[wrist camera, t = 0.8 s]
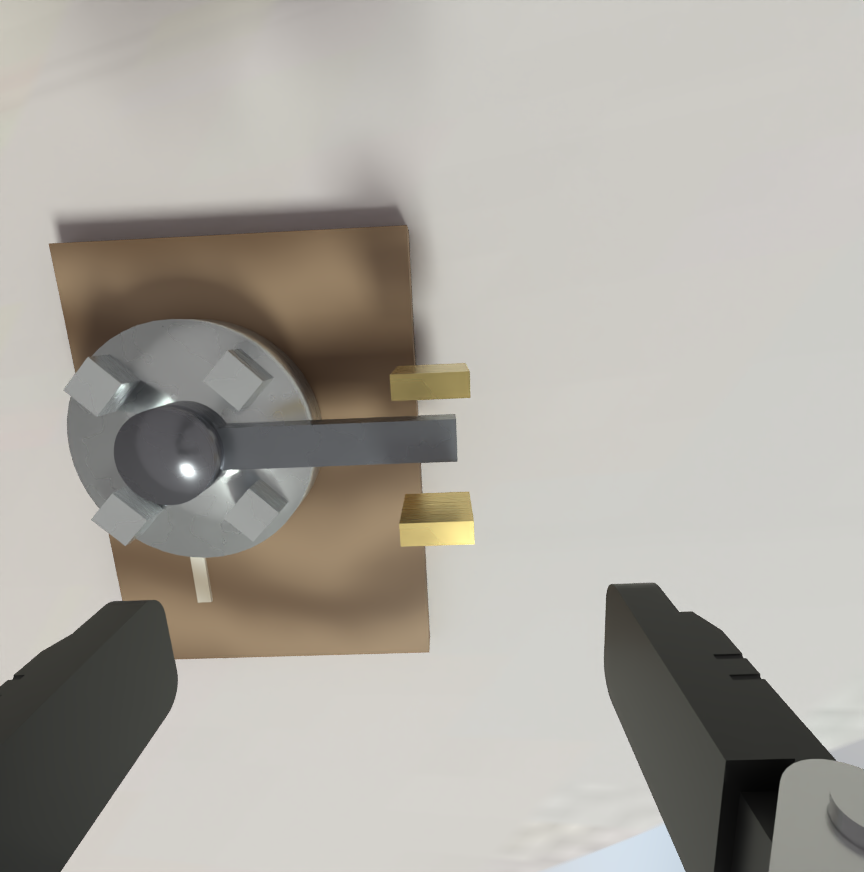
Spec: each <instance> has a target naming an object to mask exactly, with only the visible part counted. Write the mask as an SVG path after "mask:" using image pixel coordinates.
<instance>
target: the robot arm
mask: <svg viewBox="0 0 864 872" xmlns="http://www.w3.org/2000/svg"><path fill="white" fill-rule="evenodd" d="M604 670H605V678H606V684H607V688H608V692H609V696H610V699H611V701H612V704H613V706H614V708H615V711H616V713H617V715H618V718H619V720H620V722H621V724H622V727H623V729H624V731H625V734H626V736H627V738H628V740H629V743H630V745H631V747H632V750H633V752H634V754H635V757H636V759H637V761H638V763H639V766H640V768H641V770H642V773H643V775H644V777H645V779H646V782H647V784H648V786H649V789H650V791H651V793H652V796H653V798H654V800H655V802H656V805H657V807H658V809H659V812H660V814H661V816H662V818H663V821H664V823H665V825H666V828H667V830H668V832H669V834H670V837H671V839H672V841H673V844H674V846H675V848H676V851H677V853H678V855H679V857H680V860H681V862H682V864H683V867H684V869H685V871H686V872H864V769H861V768H859V767H855V766H853V765H849V764H846V763H842V762H838V761H836V760H835V759H834V757H833V756H832V755H831V754H830V753H829V752H828V751H827V749H826V748H825V747H824V746H823V745H822V744H821V743H820V742H819V740H818V739H817V738H816V737H815V736H814V735H813V734H812V732H811V731H810V730H809V729H808V728H807V727H806V726H805V724H804V723H803V722H802V721H801V720H800V719H799V718H798V717H797V715H796V714H795V713H794V712H793V711H792V710H791V709H790V707H789V706H788V705H787V704H786V703H785V702H784V701H783V699H782V698H781V697H780V696H779V695H778V694H777V693H776V692H775V690H774V689H773V688H772V687H771V686H770V685H769V684H768V682H767V681H766V680H765V679H761V677H760V673H759V672H758V671H757V670H756V669H755V668H754V667H753V665H752V664H751V663H750V662H749V661H748V660H747V659H746V658H743V656H742V653H741V652H740V651H739V649H738V648H737V647H736V646H735V645H734V644H733V643H732V642H731V640H730V639H729V638H728V637H727V636H726V635H725V634H724V632H723V631H722V630H720V629H719V628H717V627H716V626H714V625H712V624H711V623H709V622H708V621H706V620H705V619H703V618H701V617H700V616H698V615H697V614H695V613H694V612H679V611H678V610H677V609H676V607H675V606H674V605H673V604H672V602H671V601H670V600H669V599H668V597H667V596H666V595H665V593H664V592H663V591H662V590H661V588H660V587H659V586H658V585H657V584H655V583H632V584H611V585H609V587H608V589H607V594H606V616H605V645H604ZM177 684H178V675H177V669H176V664H175V659H174V654H173V649H172V644H171V639H170V634H169V629H168V624H167V619H166V614H165V610H164V608H163V606H162V604H161V603H160V602H159V601H157V600H136V601H113V602H110V603H108V604H106V605H105V606H104V607H103V608H101V609H100V610H99V611H98V612H97V613H96V614H95V615H93V616H92V617H91V618H90V619H89V620H88V621H86V622H85V623H84V624H83V625H82V626H81V627H80V628H78V629H77V630H76V631H75V632H74V633H73V634H71V635H70V636H68V637H66V638H64V639H63V640H61V641H59V642H57V643H56V644H54V645H52V646H50V647H49V648H47V649H45V650H43V651H42V652H40V653H39V654H38V655H37V656H36V657H35V658H33V659H32V660H31V661H30V662H29V663H27V664H26V665H25V666H24V667H23V668H22V669H20V670H19V671H18V672H17V673H16V674H14V677H13V680H7V681H6V682H5V683H4V684H3V685H2V686H0V872H61V870H62V869H63V867H64V866H65V864H66V863H67V861H68V860H69V859H70V857H71V856H72V854H73V853H74V851H75V850H76V848H77V847H78V845H79V844H80V842H81V841H82V839H83V838H84V837H85V835H86V834H87V832H88V831H89V829H90V828H91V826H92V825H93V823H94V822H95V820H96V819H97V817H98V816H99V814H100V813H101V812H102V810H103V809H104V807H105V806H106V804H107V803H108V801H109V800H110V798H111V797H112V795H113V794H114V792H115V791H116V790H117V788H118V787H119V785H120V784H121V782H122V781H123V779H124V778H125V776H126V775H127V773H128V772H129V770H130V769H131V768H132V766H133V765H134V763H135V762H136V760H137V759H138V757H139V756H140V754H141V753H142V751H143V750H144V748H145V747H146V746H147V744H148V743H149V741H150V740H151V738H152V737H153V735H154V734H155V732H156V731H157V729H158V728H159V726H160V725H161V724H162V722H163V721H164V719H165V718H166V716H167V715H168V713H169V711H170V709H171V707H172V705H173V702H174V700H175V696H176V692H177Z"/></svg>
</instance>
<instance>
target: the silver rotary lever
mask: <svg viewBox="0 0 864 872" xmlns="http://www.w3.org/2000/svg"><path fill="white" fill-rule="evenodd" d="M390 388H391V401H405V400H429V399H453V398H470V371H469V369H468V367H467V365H466V364H465V363H457V364H434V365H411V366H397V367H396V368H395V369H394V371H393V372H392V373H391V374H390ZM64 391H65V392H66V393H68V394H69V395H70V396H71V398H70V402H69V408H68V416H67V435H68V441H69V448H70V452H71V456H72V460H73V463H74V466H75V468H76V471H77V473H78V476H79V478H80V480H81V482H82V484H83V485H84V487H85V489H86V491H87V492H88V494H89V495H90V497H91V498H92V499H93V501H94V502H95V504H96V505H97V506H98V507H99V508H100V509H99V510H98V512H97V513H96V514H95V515H94V517H93V518H92V519H91V520H92V521H93V522H95V523H96V524H97V525H99V526H100V527H101V528H102V529H104V530H105V531H106V532H108V533H109V534H110V535H112V536H113V537H114V538H116V539H117V540H118V541H120V542H121V543H122V544H123V545H125V546H127V545H128V544H129V543H131V542H132V541H133V540H135V539H137V540H139V541H141V542H143V543H145V544H147V545H149V546H151V547H154V548H156V549H159V550H161V551H164V552H168V553H172V554H176V555H181V556H187V557H201V558H210V557H221V556H226V555H231V554H235V553H239V552H241V551H244V550H247V549H250V548H252V547H254V546H256V545H257V544H259V543H261V542H263V541H265V540H266V539H267V538H269V537H270V536H272V535H273V534H274V533H276V532H277V531H278V530H279V529H280V528H281V527H282V526H283V525H284V524H285V523H286V522H287V521H288V519H289V518H290V517H291V515H292V514H293V513H294V512H295V510H296V509H297V508H298V506H299V505H300V504H301V502H302V501H303V500H304V498H305V497H306V496H307V494H308V493H309V491H310V489H311V488H312V486H313V484H314V482H315V480H316V477H317V475H318V472H319V469H320V467H324V466H351V465H377V464H403V463H429V462H456V461H457V437H456V416H455V414H446V415H421V416H397V417H372V418H348V419H323V420H322V417H321V413H320V409H319V406H318V403H317V400H316V398H315V395H314V393H313V391H312V389H311V386H310V385H309V383H308V381H307V380H306V378H305V377H304V375H303V373H302V372H301V371H300V369H299V368H298V367H297V366H296V364H295V363H294V362H293V361H292V360H291V359H290V358H289V357H288V356H287V355H286V354H285V353H284V352H283V351H282V350H281V349H280V348H278V347H277V346H276V345H274V344H273V343H272V342H271V341H269V340H268V339H266V338H264V337H263V336H261V335H259V334H257V333H256V332H254V331H251V330H249V329H247V328H244V327H242V326H239V325H236V324H232V323H229V322H225V321H218V320H212V319H167V320H158V321H152V322H148V323H144V324H140V325H137V326H134V327H132V328H130V329H127V330H125V331H123V332H121V333H119V334H118V335H116V336H115V337H113V338H111V339H110V340H108V341H107V342H106V343H105V344H104V345H103V346H101V347H100V348H99V349H98V350H97V351H96V352H95V353H94V354H93V356H91V357H87V359H86V360H85V361H84V363H83V364H82V365H81V367H80V368H79V369H78V371H77V372H76V374H75V375H74V376H73V378H72V379H71V380H70V382H69V383H68V384H67V386H66V387H65V388H64ZM399 529H400V544H401V547H405V546H435V545H465V544H474V520H473V513H472V507H471V501H470V494H469V492H449V493H421V494H405V498H404V503H403V508H402V513H401V517H400V522H399Z"/></svg>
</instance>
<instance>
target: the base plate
mask: <svg viewBox="0 0 864 872" xmlns="http://www.w3.org/2000/svg"><path fill="white" fill-rule="evenodd" d="M49 247H50V252H51V257H52V262H53V266H54V271H55V276H56V281H57V286H58V291H59V295H60V300H61V305H62V310H63V315H64V320H65V325H66V329H67V334H68V339H69V344H70V349H71V354H72V358H73V363H74V368H75V373H76V372H77V371H78V369H79V368H80V367H81V365H82V364H83V363H84V361H85V360H86V359H87V357H91V356H93V354H94V353H95V352H96V351H97V350H98V349H99V348H100V347H101V346H103V345H104V344H105V343H106V342H107V341H108V340H110V339H111V338H113V337H115V336H116V335H118V334H119V333H121V332H123V331H125V330H127V329H130V328H132V327H134V326H137V325H140V324H144V323H148V322H152V321H158V320H167V319H212V320H218V321H225V322H229V323H232V324H236V325H239V326H242V327H244V328H247V329H249V330H251V331H254V332H256V333H257V334H259V335H261V336H263V337H264V338H266V339H268V340H269V341H271V342H272V343H273V344H274V345H276V346H277V347H278V348H280V349H281V350H282V351H283V352H284V353H285V354H286V355H287V356H288V357H289V358H290V359H291V360H292V361H293V362H294V363H295V364H296V366H297V367H298V368H299V369H300V371H301V372H302V373H303V375H304V377H305V378H306V380H307V381H308V383H309V385H310V386H311V389H312V391H313V393H314V395H315V398H316V400H317V403H318V406H319V409H320V413H321V417H322V420H323V419H348V418H372V417H397V416H418V401H417V400H405V401H391V388H390V374H391V373H392V372H393V371H394V369H395V368H396V367H397V366H411V365H416V362H415V343H414V324H413V305H412V285H411V266H410V247H409V230H408V227H407V225H401V226H382V227H363V228H343V229H324V230H304V231H285V232H266V233H246V234H227V235H207V236H188V237H169V238H149V239H130V240H110V241H91V242H72V243H52V244H49ZM421 493H422V477H421V463H403V464H377V465H351V466H324V467H320V469H319V472H318V475H317V477H316V480H315V482H314V484H313V486H312V488H311V489H310V491H309V493H308V494H307V496H306V497H305V498H304V500H303V501H302V502H301V504H300V505H299V506H298V508H297V509H296V510H295V512H294V513H293V514H292V515H291V517H290V518H289V519H288V521H287V522H286V523H285V524H284V525H283V526H282V527H281V528H280V529H279V530H278V531H277V532H276V533H274V534H273V535H272V536H270V537H269V538H267V539H266V540H265V541H263V542H261V543H259V544H257V545H256V546H254V547H252V548H250V549H247V550H244V551H241V552H239V553H235V554H231V555H226V556H221V557H210V558H201V557H187V556H181V555H176V554H172V553H168V552H164V551H161V550H159V549H156V548H154V547H151V546H149V545H147V544H145V543H143V542H141V541H139V540H137V539H135V540H133V541H132V542H131V543H129V544H128V545H127V546H125V545H123V544H122V543H121V542H120V541H118V540H117V539H116V538H114V537H113V536H112V535H110V534H109V538H110V542H111V547H112V552H113V557H114V562H115V567H116V572H117V576H118V581H119V586H120V591H121V596H122V601H136V600H157V601H159V602H160V603H161V604H162V606H163V608H164V610H165V614H166V619H167V624H168V629H169V634H170V639H171V644H172V649H173V654H174V659H202V658H238V657H275V656H312V655H348V654H385V653H422V652H429V645H430V631H429V612H428V593H427V573H426V554H425V546H405V547H401V544H400V529H399V522H400V517H401V513H402V508H403V503H404V498H405V494H421Z"/></svg>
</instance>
